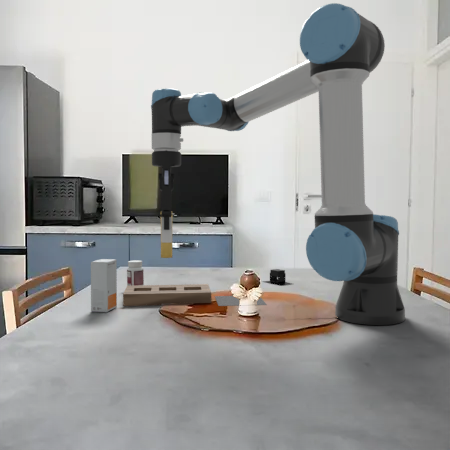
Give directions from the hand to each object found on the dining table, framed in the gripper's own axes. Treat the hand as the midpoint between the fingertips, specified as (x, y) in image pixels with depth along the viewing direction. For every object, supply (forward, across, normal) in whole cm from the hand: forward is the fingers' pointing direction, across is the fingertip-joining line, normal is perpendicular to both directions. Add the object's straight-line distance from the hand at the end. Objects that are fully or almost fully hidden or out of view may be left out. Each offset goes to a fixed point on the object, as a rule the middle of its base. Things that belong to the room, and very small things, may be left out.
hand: (166, 241), depth 138 cm
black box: (+16, +23, -34) cm, 44 cm away
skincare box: (+16, -10, +15) cm, 24 cm away
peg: (+4, 0, 0) cm, 4 cm away
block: (+15, 0, 0) cm, 15 cm away
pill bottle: (+16, +16, +9) cm, 24 cm away
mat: (+15, -4, -19) cm, 25 cm away
